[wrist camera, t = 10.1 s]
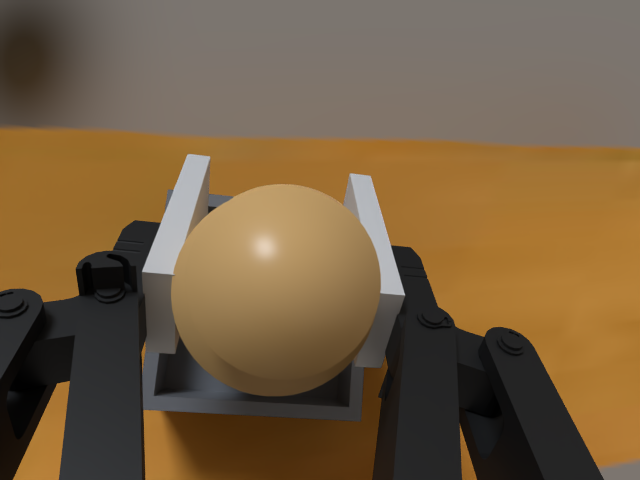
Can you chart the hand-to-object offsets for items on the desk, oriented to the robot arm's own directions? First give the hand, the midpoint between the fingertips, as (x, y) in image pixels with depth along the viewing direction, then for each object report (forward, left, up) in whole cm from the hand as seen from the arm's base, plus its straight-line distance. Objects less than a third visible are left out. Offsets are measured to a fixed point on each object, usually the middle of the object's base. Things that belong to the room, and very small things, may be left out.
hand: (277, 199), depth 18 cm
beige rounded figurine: (0, -4, -3) cm, 5 cm away
